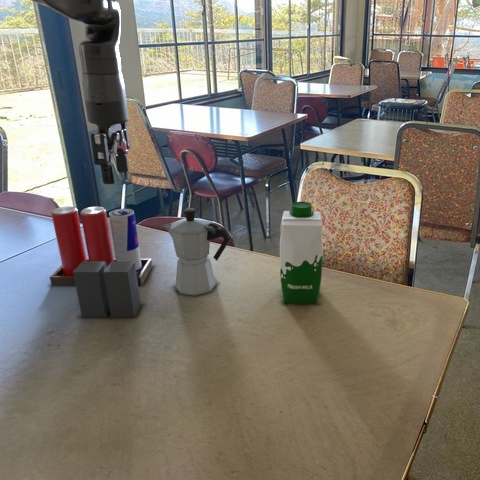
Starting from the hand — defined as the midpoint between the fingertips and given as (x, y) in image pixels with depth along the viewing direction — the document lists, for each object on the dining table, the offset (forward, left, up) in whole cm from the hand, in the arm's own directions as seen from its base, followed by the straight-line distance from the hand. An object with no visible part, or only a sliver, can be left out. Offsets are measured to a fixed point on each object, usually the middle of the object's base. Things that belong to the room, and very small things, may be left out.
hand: (116, 177), depth 100 cm
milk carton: (+39, -9, -23) cm, 46 cm away
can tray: (-6, 0, -23) cm, 24 cm away
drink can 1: (-12, 0, -23) cm, 25 cm away
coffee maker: (+17, -5, -23) cm, 29 cm away
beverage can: (0, 0, -23) cm, 23 cm away
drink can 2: (-6, 0, -23) cm, 23 cm away
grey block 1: (-2, -15, -23) cm, 28 cm away
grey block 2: (+4, -15, -23) cm, 28 cm away
